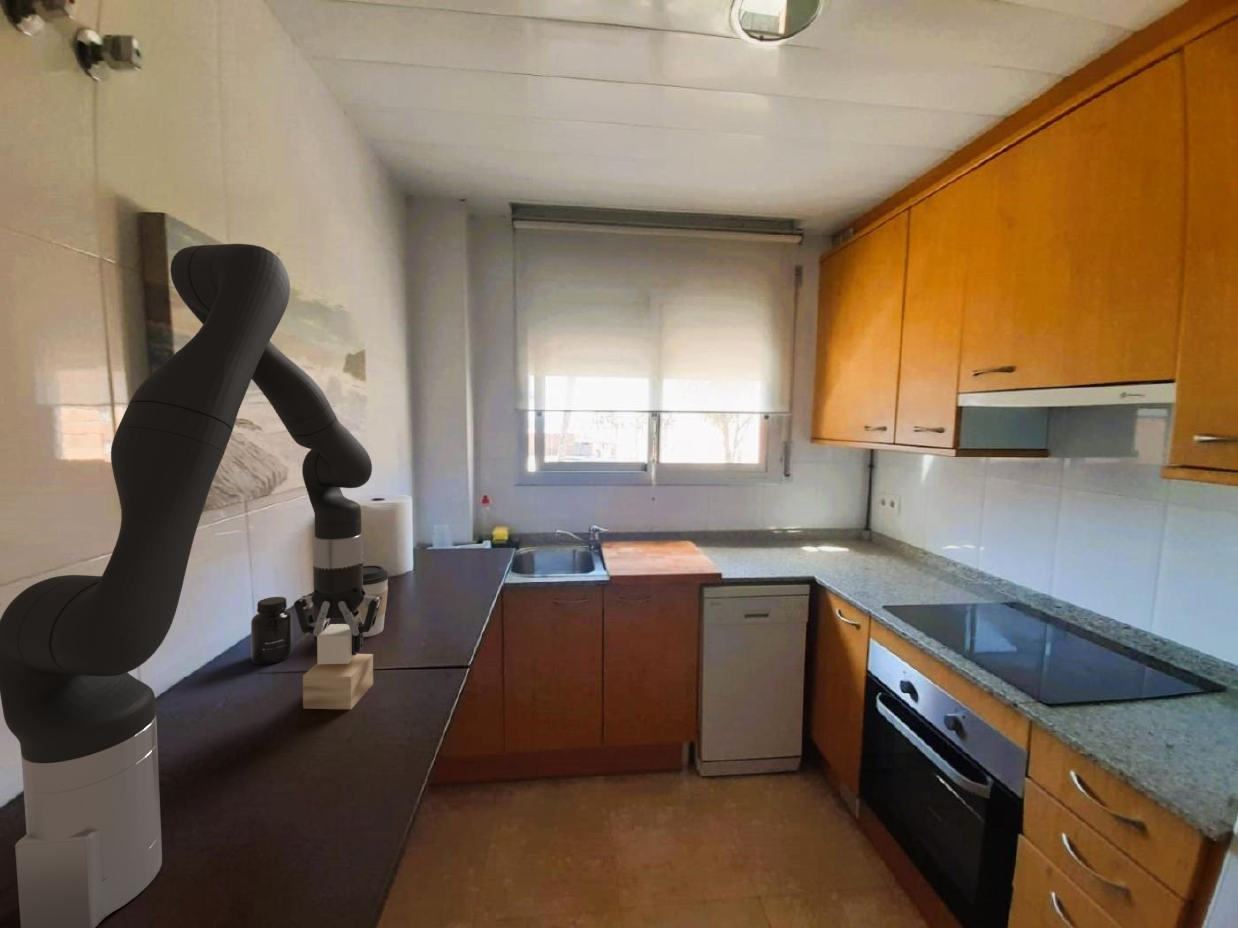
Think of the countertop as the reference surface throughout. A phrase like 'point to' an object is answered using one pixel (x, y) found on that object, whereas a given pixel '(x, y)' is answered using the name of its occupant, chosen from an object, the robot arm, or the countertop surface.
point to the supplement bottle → (271, 632)
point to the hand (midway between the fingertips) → (339, 653)
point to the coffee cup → (373, 586)
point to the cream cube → (335, 645)
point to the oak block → (337, 683)
